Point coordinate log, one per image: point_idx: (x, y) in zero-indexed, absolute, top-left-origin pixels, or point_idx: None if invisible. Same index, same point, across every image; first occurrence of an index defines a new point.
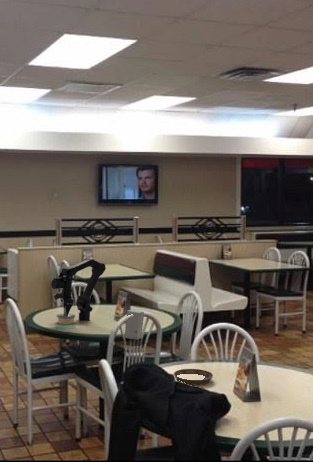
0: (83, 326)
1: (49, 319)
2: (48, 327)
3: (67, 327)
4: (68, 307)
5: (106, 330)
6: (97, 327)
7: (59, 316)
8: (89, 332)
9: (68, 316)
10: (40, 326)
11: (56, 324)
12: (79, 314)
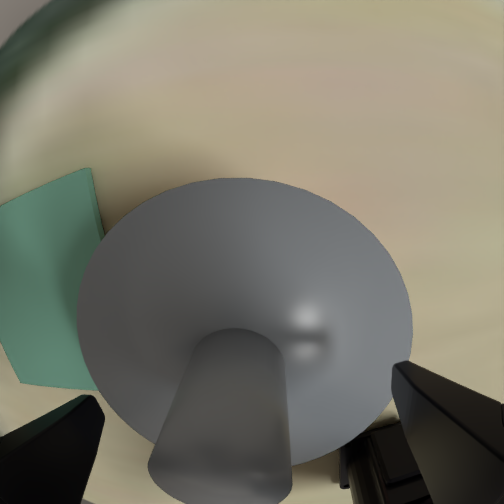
0: (125, 442)
1: (440, 90)
2: (7, 135)
3: (10, 319)
4: (17, 495)
5: (84, 497)
6: (133, 493)
7: (100, 251)
8: (4, 422)
9: (147, 397)
10: (40, 50)
11: (83, 199)
12: (385, 473)
